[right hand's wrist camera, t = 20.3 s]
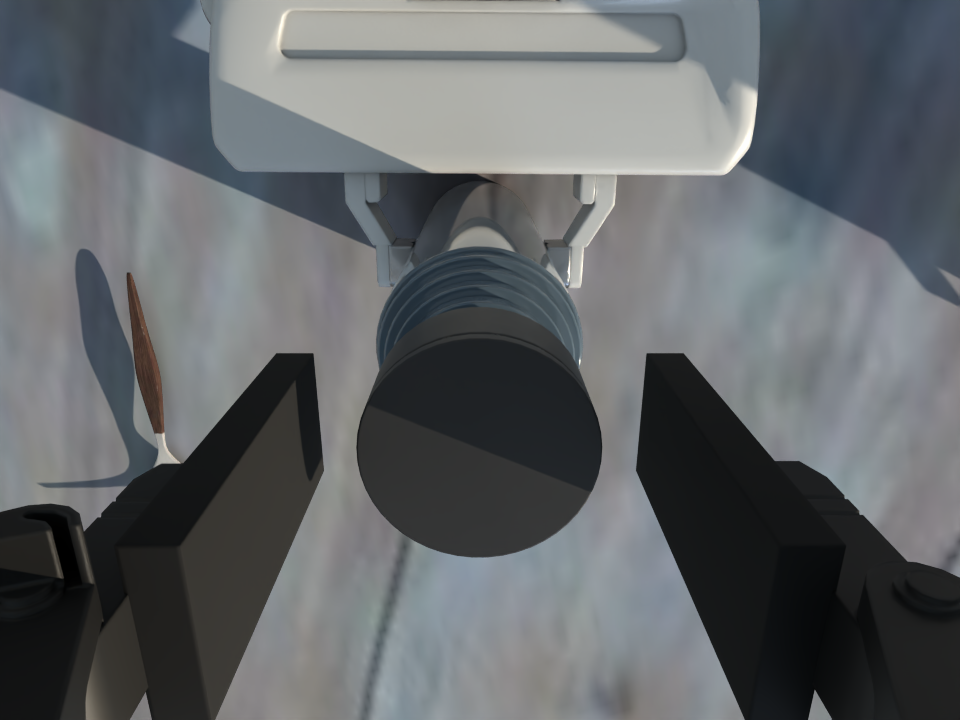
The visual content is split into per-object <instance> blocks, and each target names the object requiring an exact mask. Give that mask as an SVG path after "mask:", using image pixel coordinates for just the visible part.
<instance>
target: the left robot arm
mask: <svg viewBox="0 0 960 720" xmlns="http://www.w3.org/2000/svg"><path fill="white" fill-rule="evenodd" d="M200 1H201V5H202V9H203V12H204V14H205V16H206V18H207V20H208V22H209V23H210V25H211V28H210V50H209V89H210V112H211V126H212V135H213V141H214V144H215V146H216V147H217V149H218V150H219V151H220V153H221V154H222V155H223V156H224V157H225V158H226V159H227V161H228V162H229V163H230V164H231V165H232V166H233V167H234V168H235V169H236V170H238V171H242V172H342V173H344V185H345V201H346V204H347V206H348V207H349V209H350V210H351V212H352V214H353V215H354V217H355V218H356V220H357V221H358V223H359V224H360V226H361V228H362V229H363V231H364V232H365V234H366V235H367V237H368V239H369V240H370V242H371V243H372V245H376V257H377V278H378V284H379V287H394V285H395V283H396V281H397V279H398V277H399V275H400V273H401V271H402V269H403V267H404V265H405V263H406V261H407V259H408V257H409V255H410V253H411V251H412V249H413V247H414V245H415V243H416V239H404V238H397V237H396V235H395V233H394V232H393V230H392V228H391V226H390V225H389V223H388V221H387V220H386V218H385V216H384V214H383V213H382V211H381V209H380V208H379V206H378V204H377V202H379V201H380V200H381V199H382V198H383V197H384V196H385V195H387V173H472V174H574V183H573V196H574V197H575V198H576V199H577V200H579V201H580V202H581V203H582V204H583V206H582V207H581V209H580V211H579V212H578V214H577V216H576V217H575V219H574V221H573V222H572V224H571V226H570V227H569V229H568V230H567V232H566V234H565V235H564V237H563V240H544V244H545V246H546V248H547V250H548V252H549V254H550V256H551V259H552V261H553V263H554V265H555V267H556V269H557V271H558V273H559V275H560V277H561V279H562V281H563V283H564V285H565V287H566V288H580V286H581V281H582V267H583V250H584V247H587V246H588V244H589V243H590V241H591V240H592V238H593V237H594V235H595V234H596V232H597V231H598V229H599V228H600V226H601V225H602V223H603V222H604V220H605V219H606V217H607V216H608V214H609V213H610V211H611V210H612V208H613V207H614V205H615V193H616V181H617V175H725V174H726V173H728V172H729V171H730V170H731V169H732V168H733V167H734V166H735V165H736V164H737V163H738V162H739V160H740V159H741V158H742V157H743V156H744V154H745V153H746V152H747V151H748V149H749V147H750V144H751V141H752V136H753V130H754V124H755V116H756V107H757V96H758V83H759V64H760V8H759V1H758V0H200Z"/></svg>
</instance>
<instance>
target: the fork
mask: <svg viewBox="0 0 960 720" xmlns="http://www.w3.org/2000/svg"><path fill="white" fill-rule="evenodd" d="M127 289H128V300H129V309H130V318H131V327H132V338H133V350H134V361H135V369H136V375H137V379H138V383H139V387H140V390H141V394H142V397H143V400H144V403H145V406H146V409H147V412H148V415H149V418H150V421H151V424H152V427H153V430H154V434H155V437H156V440H157V444H158V456H157V459H156V462H155V464H154V466H153V468H154V467H156V466H158V465H159V464H161V463H180V462H179V461H178V460H177V459H176V458H174V457H173V456H172V454H171V453H170V452H169V451H168V449H167V447H166V443H165V434H164V416H163V398H162V385H161V377H160V372H159V368H158V364H157V360H156V357H155V354H154V350H153V347H152V344H151V341H150V337H149V334H148V331H147V327H146V324H145V320H144V316H143V312H142V308H141V305H140V301H139V297H138V294H137V290H136V287H135V283H134V280H133V277H132V275H131V273H127Z"/></svg>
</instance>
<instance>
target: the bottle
mask: <svg viewBox="0 0 960 720" xmlns="http://www.w3.org/2000/svg"><path fill="white" fill-rule="evenodd" d="M469 307H490V308H498V309H503V310H507V311H511V312H515V313H518V314H520V315H523V316H525V317H528V318H530V319H532V320H533V321H535V322H537V323H539V324H541V325H542V326H543V327H545V328H546V329H547V330H549V331H550V332H551V333H553V334H554V335H555V336H556V337H557V338H558V339H559V340H560V341H561V342H562V343H563V345H564V346H565V347H566V348H567V350H568V351H569V352H570V354H571V355H572V357H573V359H574V361H575V362H576V364H577V366H578V369H579V370H580V365H581V360H582V351H583V336H582V328H581V323H580V319H579V316H578V313H577V310H576V307H575V305H574V303H573V301H572V299H571V297H570V295H569V293H568V291H567V289H566V287H565V285H564V283H563V281H562V279H561V277H560V275H559V273H558V271H557V269H556V267H555V265H554V263H553V261H552V259H551V256H550V254H549V252H548V250H547V248H546V246H545V244H544V242H543V240H542V238H541V236H540V234H539V232H538V230H537V228H536V226H535V224H534V222H533V220H532V218H531V216H530V214H529V212H528V210H527V208H526V206H525V205H524V203H523V202H522V201H521V200H520V198H519V197H518V196H517V195H515V194H514V193H513V192H512V191H510V190H509V189H507V188H506V187H504V186H501V185H499V184H496V183H493V182H487V181H472V182H467V183H463V184H460V185H458V186H456V187H454V188H452V189H450V190H449V191H448V192H446V193H445V194H444V195H443V196H442V197H441V198H440V199H439V200H438V201H437V203H436V204H435V205H434V207H433V209H432V210H431V212H430V214H429V216H428V218H427V220H426V222H425V224H424V226H423V228H422V230H421V233H420V235H419V237H418V239H417V241H416V243H415V245H414V247H413V249H412V251H411V253H410V255H409V257H408V259H407V261H406V263H405V265H404V267H403V269H402V271H401V273H400V275H399V277H398V279H397V281H396V283H395V285H394V287H393V289H392V291H391V293H390V295H389V297H388V299H387V301H386V303H385V305H384V308H383V310H382V313H381V316H380V320H379V323H378V327H377V337H376V353H377V359H378V365H379V370H380V368H381V366H382V364H383V362H384V360H385V358H386V357H387V355H388V353H389V352H390V351H391V349H392V348H393V347H394V345H395V344H396V343H397V342H398V341H399V340H400V339H401V338H402V337H403V336H404V335H405V334H406V333H407V332H409V331H410V330H411V329H413V328H414V327H415V326H417V325H418V324H420V323H422V322H424V321H425V320H427V319H429V318H431V317H434V316H436V315H439V314H441V313H444V312H448V311H451V310H455V309H461V308H469Z"/></svg>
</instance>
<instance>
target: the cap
mask: <svg viewBox="0 0 960 720" xmlns="http://www.w3.org/2000/svg"><path fill="white" fill-rule="evenodd" d="M356 448H357V461H358V466H359V471H360V475H361V478H362V481H363V483H364V486H365V489H366V491H367V492H368V494H369V496H370V498H371V500H372V502H373V503H374V505H375V506H376V507H377V509H378V510H379V511H380V513H381V514H382V515H383V516H384V517H385V518H386V519H387V520H388V521H389V522H390V523H391V524H392V525H393V526H394V527H395V528H397V529H398V530H399V531H400V532H401V533H403V534H404V535H406V536H407V537H409V538H411V539H412V540H414V541H416V542H418V543H420V544H422V545H424V546H426V547H428V548H431V549H434V550H437V551H440V552H443V553H447V554H452V555H456V556H464V557H494V556H503V555H507V554H512V553H516V552H519V551H522V550H525V549H528V548H531V547H533V546H535V545H537V544H539V543H541V542H543V541H545V540H547V539H548V538H550V537H551V536H553V535H554V534H556V533H557V532H559V531H560V530H561V529H562V528H563V527H565V526H566V525H567V524H568V523H569V522H570V521H571V520H572V519H573V518H574V517H575V516H576V515H577V514H578V512H579V511H580V510H581V508H582V507H583V505H584V504H585V503H586V501H587V499H588V497H589V496H590V494H591V492H592V490H593V488H594V485H595V483H596V480H597V477H598V474H599V469H600V465H601V457H602V438H601V430H600V426H599V422H598V418H597V415H596V412H595V410H594V407H593V405H592V402H591V399H590V397H589V394H588V392H587V389H586V387H585V384H584V381H583V379H582V376H581V374H580V371H579V369H578V366H577V364H576V362H575V361H574V359H573V357H572V355H571V354H570V352H569V351H568V350H567V348H566V347H565V346H564V345H563V343H562V342H561V341H560V340H559V339H558V338H557V337H556V336H555V335H554V334H553V333H551V332H550V331H549V330H547V329H546V328H545V327H543V326H542V325H541V324H539V323H537V322H535V321H533V320H532V319H530V318H528V317H525V316H523V315H520V314H518V313H515V312H511V311H507V310H503V309H498V308H490V307H469V308H461V309H455V310H451V311H448V312H444V313H441V314H439V315H436V316H434V317H431V318H429V319H427V320H425V321H424V322H422V323H420V324H418V325H417V326H415V327H414V328H413V329H411V330H410V331H409V332H407V333H406V334H405V335H404V336H403V337H402V338H401V339H400V340H399V341H398V342H397V343H396V344H395V345H394V347H393V348H392V349H391V351H390V352H389V353H388V355H387V357H386V358H385V360H384V362H383V364H382V366H381V368H380V371H379V373H378V376H377V378H376V381H375V383H374V386H373V388H372V391H371V394H370V396H369V399H368V401H367V404H366V406H365V409H364V412H363V414H362V417H361V420H360V424H359V429H358V433H357V447H356Z"/></svg>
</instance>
